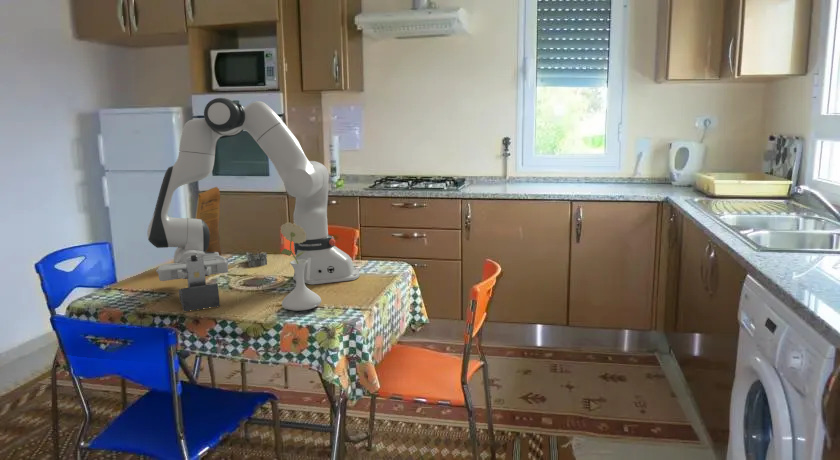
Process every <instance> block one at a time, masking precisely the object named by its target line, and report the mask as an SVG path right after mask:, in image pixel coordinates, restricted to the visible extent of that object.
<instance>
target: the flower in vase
mask: <svg viewBox="0 0 840 460" xmlns="http://www.w3.org/2000/svg"><path fill="white" fill-rule="evenodd" d="M280 234H281V235H282V236H283V237H284V238H285V239H286V240H287V241H289V249H287V248H284V249H282V250H281V252H280V254H282V255H286V256H288V257H290V256H292V257H293V258H294V259H293V260H291V261H289V264H290V265H291V267H292V268H293V270H294V271H295V275H296V281H295V287H294V289H292V291H291V292H289V293H288V294H287V295H286V296H285V297H284V298H283V299H282V302H281V306H282V307H283V308H284V309H285V310H289V311H297V312H299V311H300V312H302V311H307V310H311V309H315V308H317V307H318V306H320V305H321V303H322V302H323V301H322V299H321V296H320V295H318V293H316V292H314V291H313V290H311V289H310V288H308V287H307V286H306V283H304V268H305V265H306V263H307V262H308V261H307V260H297V259H296V257H298V256H300V255H302V254H303V253H304V252H305V251H303V252H301V253H299V254H298V255H297V256H296V255H295V253H294V252H293V250H292V242H293V244H294V243H298V244H300V243H303V242H305V241H306V240H305V239H306V236H307V235H306V232H304V229H303V228H301V227H300V226H297V225H296V224H295V223H294V222H293V223H292V222H285V223H283V224H281V225H280Z"/></svg>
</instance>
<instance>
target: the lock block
mask: <svg viewBox="0 0 840 460" xmlns="http://www.w3.org/2000/svg"><path fill="white" fill-rule="evenodd" d="M185 260H186V270H187V273H188V279H186V280H187V288H189V287H196V286H203V285H207V282H206V276H205V270H204V260H203V259H202V257H197V255H192V256H191V258H189V259H185Z"/></svg>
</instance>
